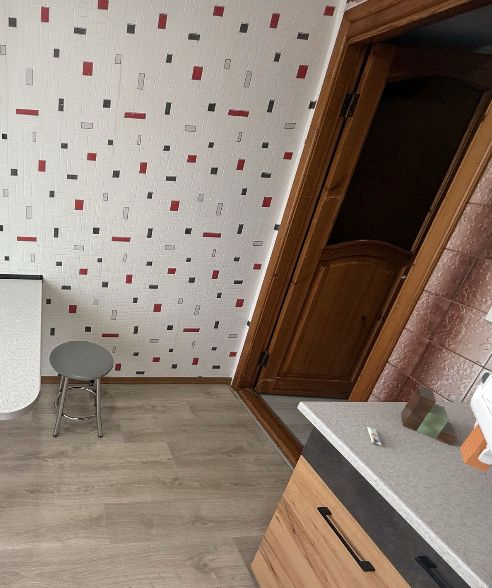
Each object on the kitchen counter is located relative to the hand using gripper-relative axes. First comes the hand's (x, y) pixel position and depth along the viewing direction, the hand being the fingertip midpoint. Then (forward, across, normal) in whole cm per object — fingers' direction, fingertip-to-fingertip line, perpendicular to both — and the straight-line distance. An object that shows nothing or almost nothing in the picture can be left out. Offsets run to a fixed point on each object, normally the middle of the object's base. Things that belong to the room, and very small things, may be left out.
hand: (479, 450), depth 67 cm
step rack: (+17, +31, -1) cm, 35 cm away
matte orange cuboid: (+3, 0, 0) cm, 3 cm away
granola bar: (+17, +15, +11) cm, 25 cm away
